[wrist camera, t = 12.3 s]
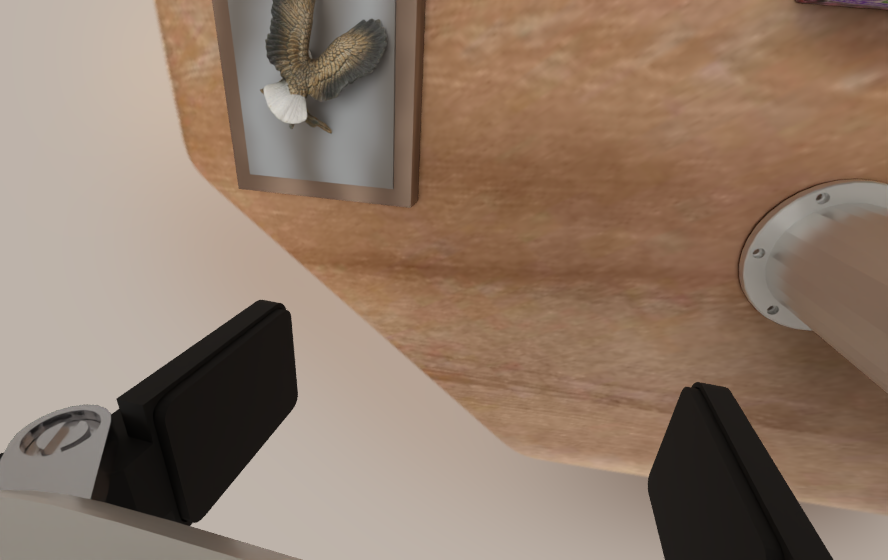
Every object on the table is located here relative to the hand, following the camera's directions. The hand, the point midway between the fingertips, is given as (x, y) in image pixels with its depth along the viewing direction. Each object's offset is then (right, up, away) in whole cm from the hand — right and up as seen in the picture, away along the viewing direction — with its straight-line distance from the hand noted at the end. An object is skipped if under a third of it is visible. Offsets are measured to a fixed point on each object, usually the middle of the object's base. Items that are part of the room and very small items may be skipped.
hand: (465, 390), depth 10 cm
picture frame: (-10, +19, +26) cm, 34 cm away
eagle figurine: (-12, +20, +20) cm, 31 cm away
